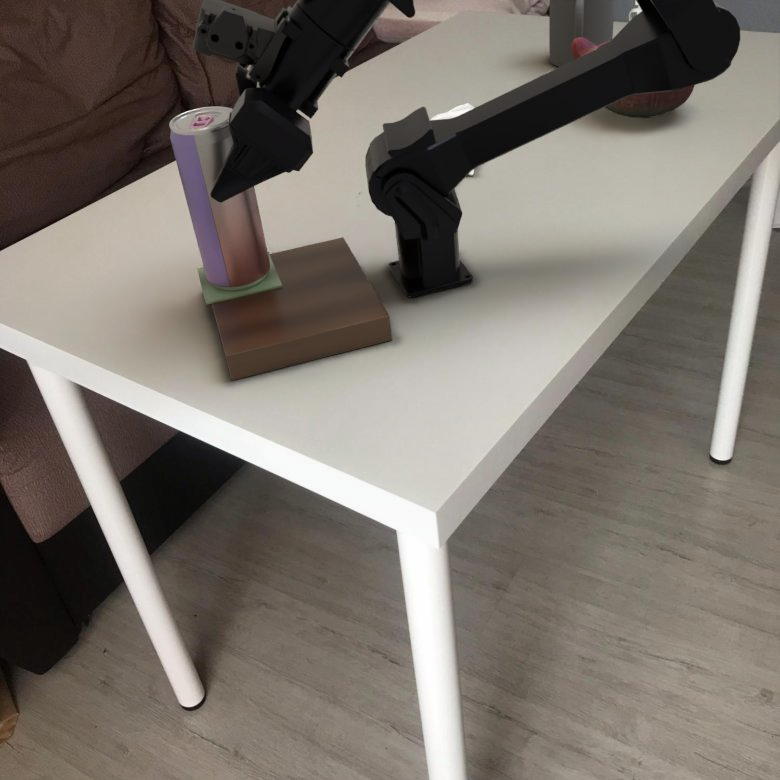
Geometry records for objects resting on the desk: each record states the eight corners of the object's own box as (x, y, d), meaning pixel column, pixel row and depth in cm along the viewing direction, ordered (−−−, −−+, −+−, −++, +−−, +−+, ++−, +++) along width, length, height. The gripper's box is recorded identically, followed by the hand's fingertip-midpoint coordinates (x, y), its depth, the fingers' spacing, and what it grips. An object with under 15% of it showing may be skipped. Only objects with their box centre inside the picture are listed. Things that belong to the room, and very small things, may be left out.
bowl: (696, 96, 112) (703, 32, 108) (687, 133, 103) (694, 65, 98) (572, 94, 118) (573, 33, 113) (553, 129, 108) (553, 64, 104)
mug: (551, 51, 134) (552, -33, 127) (612, 49, 132) (616, -37, 124) (544, 80, 123) (544, -10, 116) (610, 78, 121) (615, -14, 114)
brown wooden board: (392, 340, 74) (389, 313, 72) (226, 382, 72) (218, 355, 70) (346, 259, 87) (343, 234, 85) (203, 292, 84) (196, 268, 83)
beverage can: (200, 294, 78) (156, 133, 69) (217, 262, 83) (179, 107, 74) (263, 292, 77) (228, 129, 68) (277, 259, 82) (246, 103, 73)
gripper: (244, -65, 72) (148, 86, 79) (233, -18, 57) (116, 164, 64) (350, 21, 77) (251, 157, 83) (366, 86, 62) (244, 245, 68)
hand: (218, 176), depth 75 cm, fingers open, 9 cm apart
